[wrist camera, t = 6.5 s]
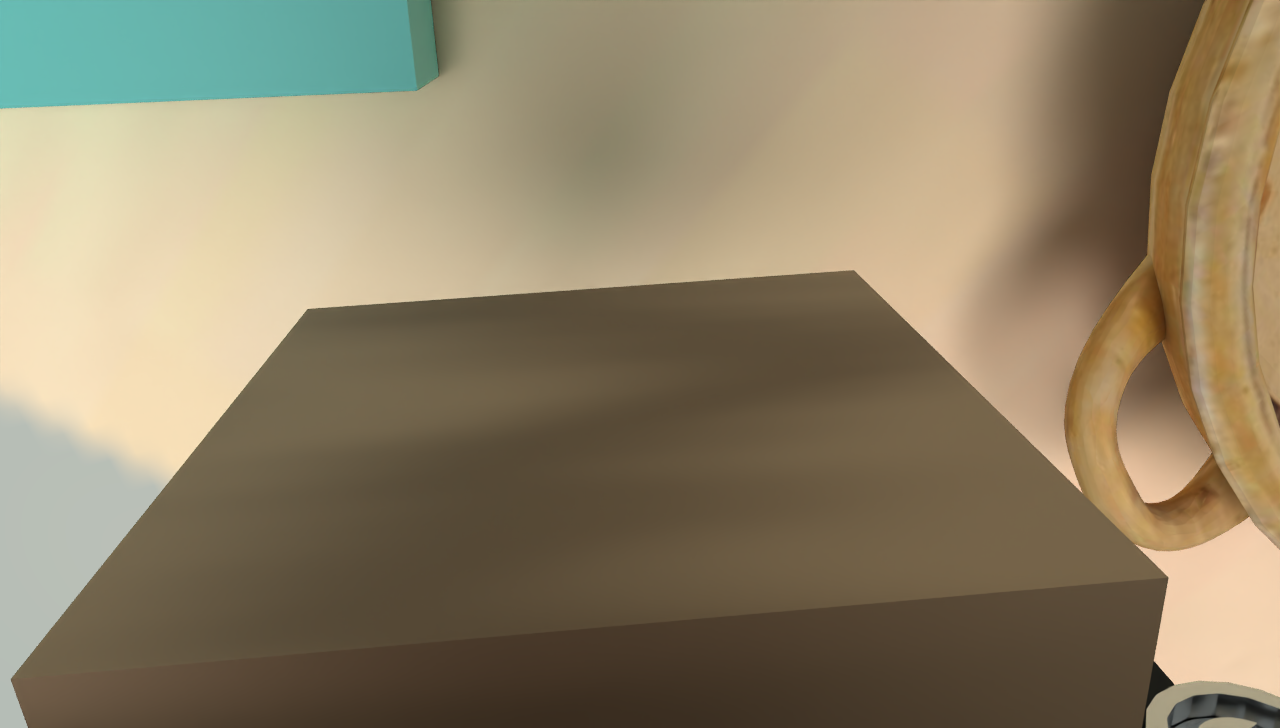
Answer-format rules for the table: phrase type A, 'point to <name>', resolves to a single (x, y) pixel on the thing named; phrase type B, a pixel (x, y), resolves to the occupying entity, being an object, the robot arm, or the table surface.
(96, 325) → the table surface
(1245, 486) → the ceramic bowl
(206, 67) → the teal base
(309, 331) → the walnut cube
